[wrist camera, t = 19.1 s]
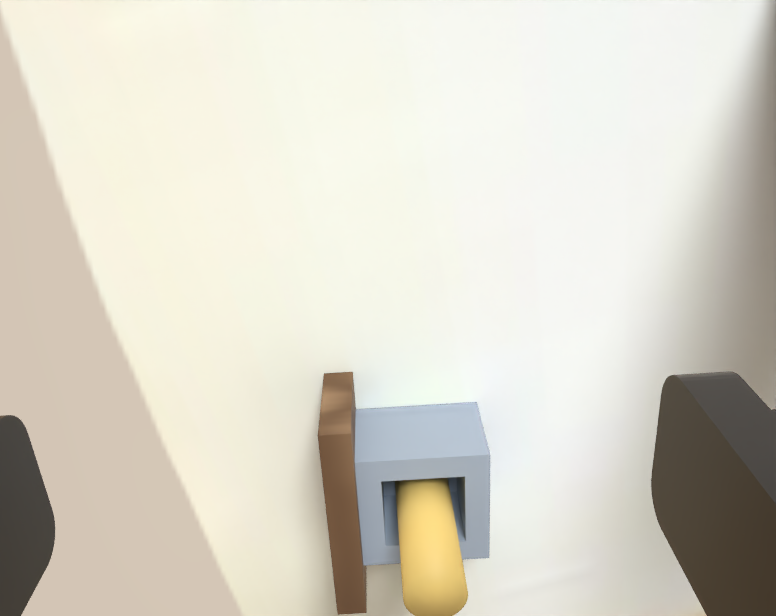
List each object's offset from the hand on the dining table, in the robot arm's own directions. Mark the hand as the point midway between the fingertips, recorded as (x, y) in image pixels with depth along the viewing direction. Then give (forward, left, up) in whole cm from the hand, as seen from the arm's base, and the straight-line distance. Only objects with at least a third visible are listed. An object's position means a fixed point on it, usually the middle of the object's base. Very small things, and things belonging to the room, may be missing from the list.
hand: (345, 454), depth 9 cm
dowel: (-2, +21, -27) cm, 34 cm away
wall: (+2, +21, -28) cm, 35 cm away
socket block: (-2, +21, -28) cm, 35 cm away
